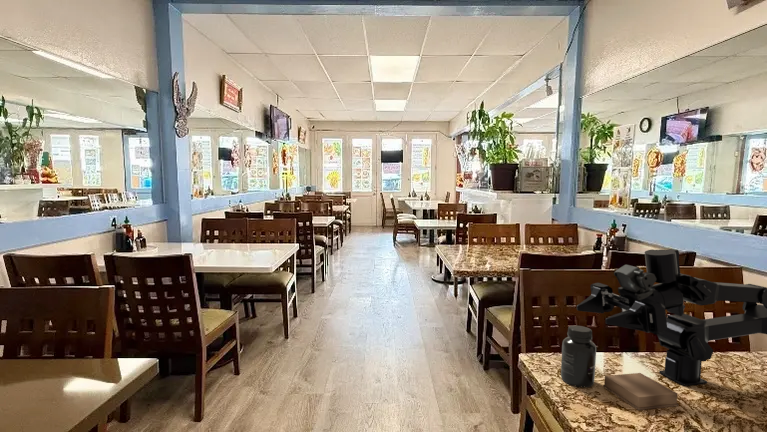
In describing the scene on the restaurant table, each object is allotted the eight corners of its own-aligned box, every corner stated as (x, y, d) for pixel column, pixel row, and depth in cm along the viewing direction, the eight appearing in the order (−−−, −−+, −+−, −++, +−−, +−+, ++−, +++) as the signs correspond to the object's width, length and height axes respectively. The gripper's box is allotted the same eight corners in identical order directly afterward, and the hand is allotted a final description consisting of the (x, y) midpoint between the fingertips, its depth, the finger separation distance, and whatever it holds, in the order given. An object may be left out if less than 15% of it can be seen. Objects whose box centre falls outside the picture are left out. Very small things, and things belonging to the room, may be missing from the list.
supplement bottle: (598, 390, 85) (601, 335, 84) (564, 386, 87) (567, 332, 86) (589, 375, 92) (591, 324, 91) (557, 372, 93) (559, 322, 93)
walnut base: (639, 383, 89) (640, 372, 88) (678, 405, 79) (679, 393, 79) (602, 386, 87) (603, 375, 87) (638, 410, 78) (638, 397, 77)
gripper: (617, 256, 97) (559, 269, 94) (688, 272, 78) (618, 289, 76) (623, 300, 98) (565, 314, 95) (694, 326, 79) (625, 344, 77)
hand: (590, 314), depth 86 cm, fingers open, 9 cm apart
